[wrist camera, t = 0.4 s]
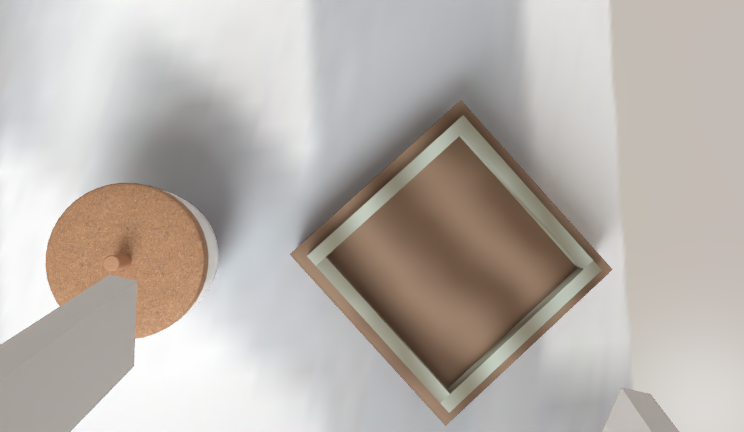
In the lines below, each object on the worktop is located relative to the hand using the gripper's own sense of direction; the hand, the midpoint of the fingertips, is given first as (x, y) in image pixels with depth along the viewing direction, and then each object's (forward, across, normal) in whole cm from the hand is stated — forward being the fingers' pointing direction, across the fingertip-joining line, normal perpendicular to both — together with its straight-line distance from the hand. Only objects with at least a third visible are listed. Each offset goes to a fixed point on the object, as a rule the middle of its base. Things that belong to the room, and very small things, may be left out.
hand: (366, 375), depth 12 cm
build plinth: (+26, -6, +6) cm, 28 cm away
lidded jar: (+24, +17, +10) cm, 31 cm away
